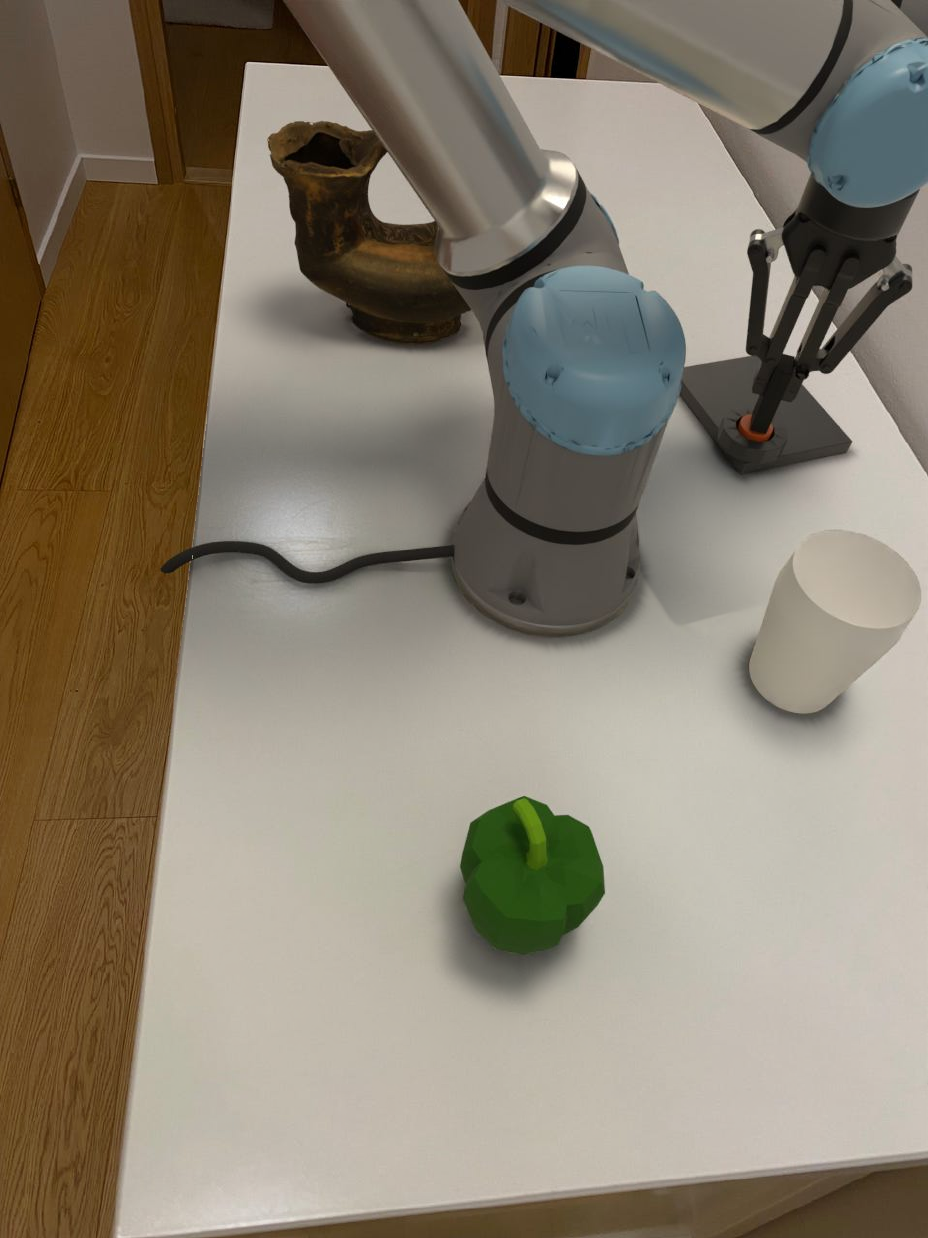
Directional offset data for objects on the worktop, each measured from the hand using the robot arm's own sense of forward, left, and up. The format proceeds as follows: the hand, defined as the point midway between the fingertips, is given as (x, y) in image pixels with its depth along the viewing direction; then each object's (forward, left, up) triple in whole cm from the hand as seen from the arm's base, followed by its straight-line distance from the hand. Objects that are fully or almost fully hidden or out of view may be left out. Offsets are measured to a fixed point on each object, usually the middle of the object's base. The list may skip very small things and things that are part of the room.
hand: (759, 422), depth 86 cm
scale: (+4, +5, -4) cm, 7 cm away
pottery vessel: (-25, +27, -4) cm, 37 cm away
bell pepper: (-37, -33, -4) cm, 50 cm away
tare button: (0, 0, -2) cm, 2 cm away
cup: (-10, -23, -4) cm, 26 cm away
